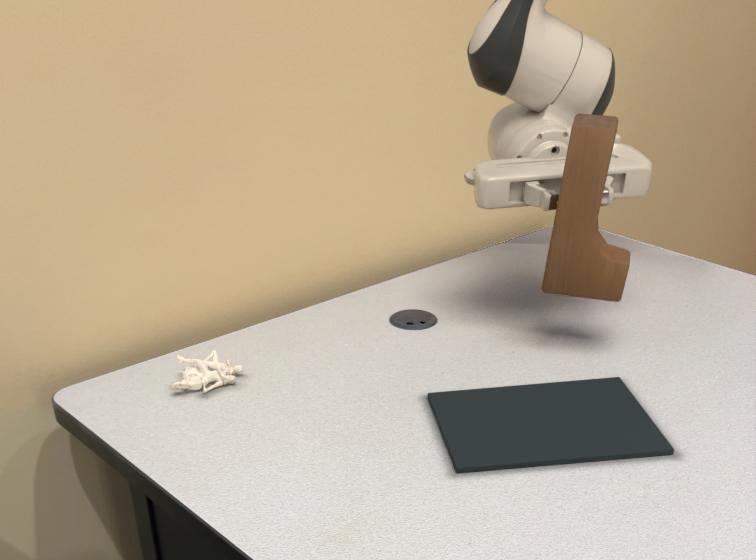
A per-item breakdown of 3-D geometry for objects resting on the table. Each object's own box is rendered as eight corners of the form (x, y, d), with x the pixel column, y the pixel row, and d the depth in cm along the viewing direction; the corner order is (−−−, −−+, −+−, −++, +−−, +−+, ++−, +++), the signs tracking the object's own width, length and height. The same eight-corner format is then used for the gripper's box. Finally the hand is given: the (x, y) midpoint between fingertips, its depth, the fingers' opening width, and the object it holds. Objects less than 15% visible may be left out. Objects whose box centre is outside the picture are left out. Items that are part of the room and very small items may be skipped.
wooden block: (621, 287, 105) (664, 119, 92) (620, 303, 101) (663, 132, 89) (544, 278, 106) (575, 112, 94) (540, 293, 103) (572, 124, 91)
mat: (618, 381, 102) (619, 376, 101) (673, 454, 89) (674, 449, 89) (427, 397, 101) (427, 392, 101) (456, 473, 89) (456, 468, 89)
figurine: (247, 372, 109) (228, 401, 103) (187, 367, 110) (165, 395, 104) (246, 348, 107) (227, 376, 101) (185, 344, 108) (162, 370, 102)
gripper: (462, 144, 107) (488, 177, 96) (630, 131, 107) (675, 163, 97) (459, 199, 111) (484, 237, 100) (621, 186, 111) (662, 223, 101)
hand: (579, 200), depth 99 cm, fingers closed on wooden block, 5 cm apart
